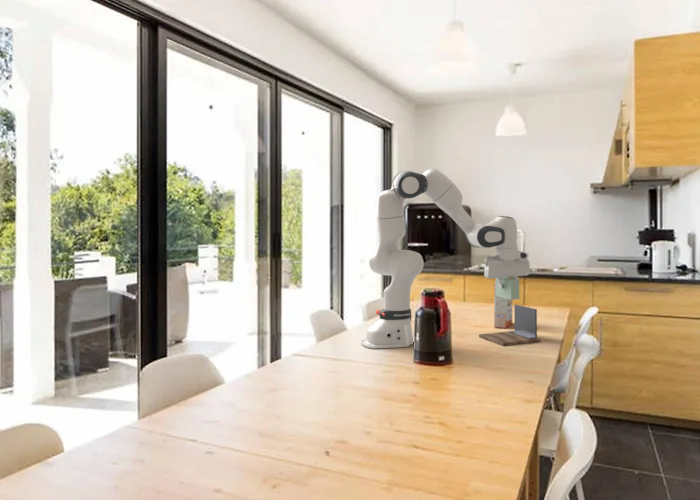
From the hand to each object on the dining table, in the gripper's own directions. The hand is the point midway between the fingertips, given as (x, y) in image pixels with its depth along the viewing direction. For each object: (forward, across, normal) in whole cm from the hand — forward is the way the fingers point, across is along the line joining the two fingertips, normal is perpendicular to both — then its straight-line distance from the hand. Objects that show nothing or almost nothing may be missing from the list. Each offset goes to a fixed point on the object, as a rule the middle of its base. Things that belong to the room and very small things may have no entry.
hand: (507, 287), depth 219 cm
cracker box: (+23, +15, +25) cm, 37 cm away
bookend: (+21, +7, -1) cm, 22 cm away
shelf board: (+22, 0, -1) cm, 22 cm away
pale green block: (+4, 0, 0) cm, 4 cm away
